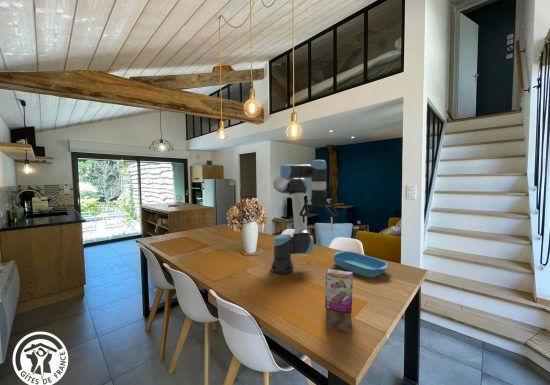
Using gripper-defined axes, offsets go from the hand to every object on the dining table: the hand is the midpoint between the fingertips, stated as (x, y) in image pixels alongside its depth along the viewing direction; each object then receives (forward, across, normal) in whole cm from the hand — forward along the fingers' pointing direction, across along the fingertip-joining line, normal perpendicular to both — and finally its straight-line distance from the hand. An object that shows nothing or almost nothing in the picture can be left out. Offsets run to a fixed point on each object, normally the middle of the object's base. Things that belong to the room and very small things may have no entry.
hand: (318, 229), depth 123 cm
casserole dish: (+35, +25, +38) cm, 57 cm away
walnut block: (+34, +10, -23) cm, 43 cm away
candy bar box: (+29, +10, -23) cm, 39 cm away
